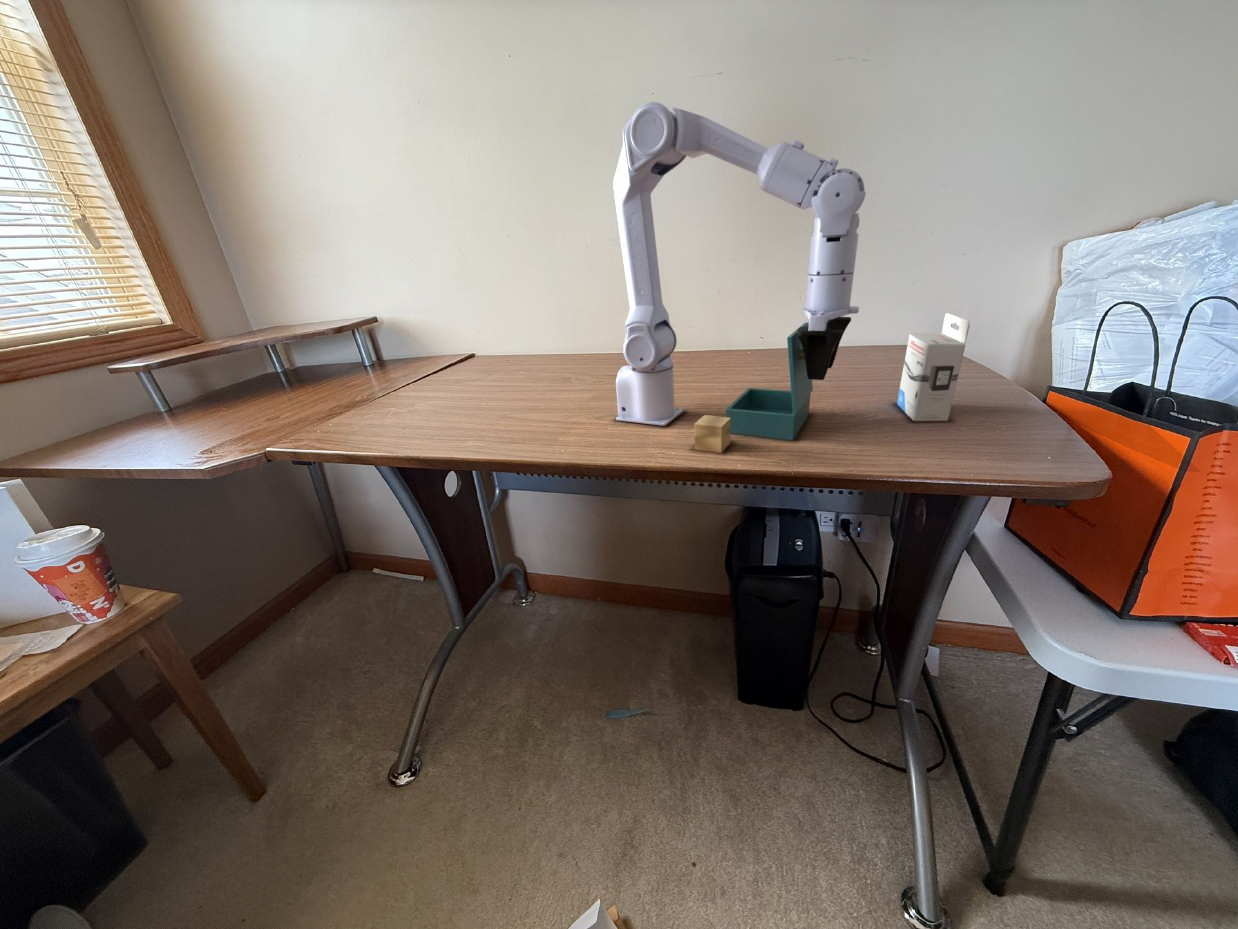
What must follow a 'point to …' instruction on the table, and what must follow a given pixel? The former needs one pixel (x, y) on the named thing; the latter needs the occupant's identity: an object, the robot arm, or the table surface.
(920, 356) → the ink box
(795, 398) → the chest lid
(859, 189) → the robot arm
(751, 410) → the chest
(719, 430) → the block
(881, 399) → the table surface
